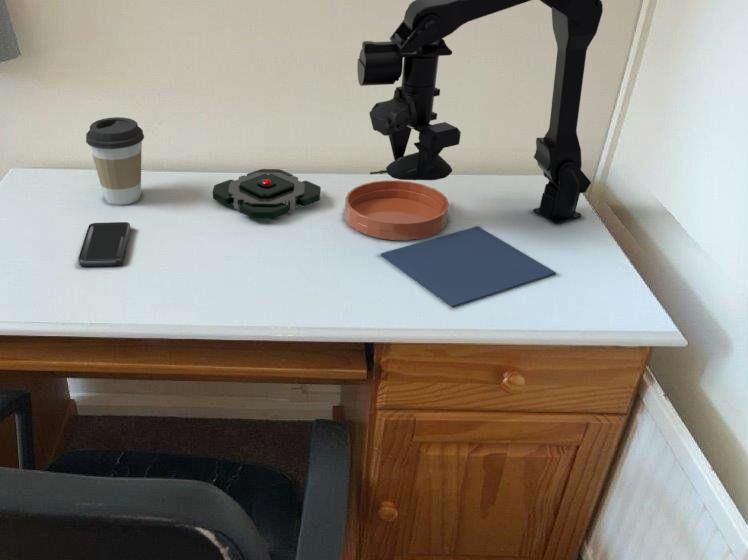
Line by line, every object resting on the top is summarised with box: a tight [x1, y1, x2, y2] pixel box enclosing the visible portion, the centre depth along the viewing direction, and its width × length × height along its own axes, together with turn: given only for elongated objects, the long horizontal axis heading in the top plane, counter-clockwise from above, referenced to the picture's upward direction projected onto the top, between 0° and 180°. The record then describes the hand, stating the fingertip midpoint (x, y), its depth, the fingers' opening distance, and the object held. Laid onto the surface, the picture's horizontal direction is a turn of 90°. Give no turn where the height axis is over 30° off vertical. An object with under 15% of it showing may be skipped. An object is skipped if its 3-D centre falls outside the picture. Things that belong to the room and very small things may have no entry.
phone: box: [77, 221, 132, 268], centre depth 141 cm, size 8×1×15 cm
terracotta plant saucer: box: [344, 179, 450, 241], centre depth 148 cm, size 19×19×4 cm
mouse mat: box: [380, 226, 557, 308], centre depth 134 cm, size 22×20×1 cm
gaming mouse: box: [369, 151, 453, 181], centre depth 140 cm, size 6×15×4 cm, turn 90°
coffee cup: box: [85, 116, 145, 206], centre depth 154 cm, size 11×11×15 cm
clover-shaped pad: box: [211, 168, 321, 220], centre depth 155 cm, size 18×18×5 cm
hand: (409, 170), depth 141 cm, fingers closed on gaming mouse, 7 cm apart
